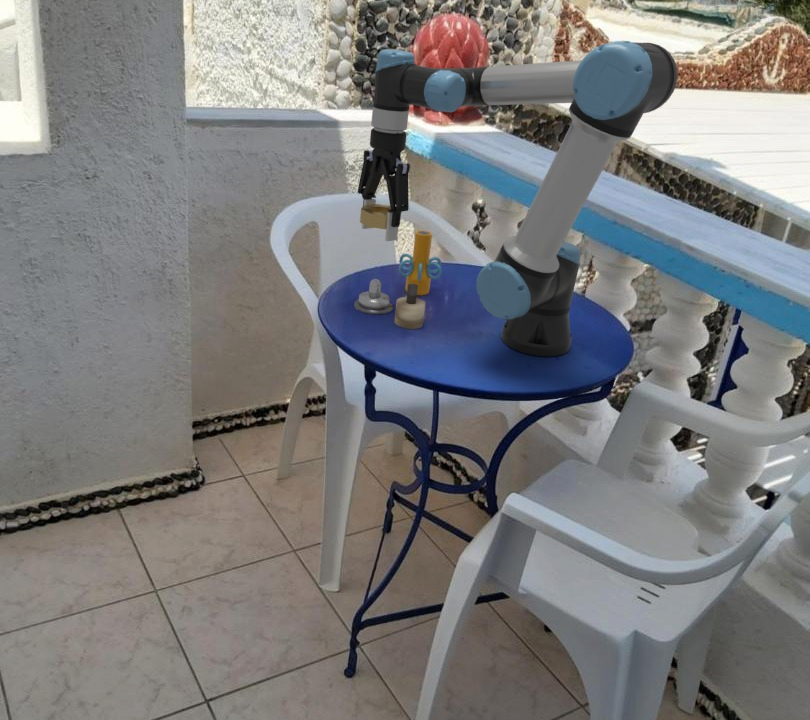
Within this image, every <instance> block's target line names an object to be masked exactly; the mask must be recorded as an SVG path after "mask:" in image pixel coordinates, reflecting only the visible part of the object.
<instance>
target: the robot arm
mask: <svg viewBox="0 0 810 720" xmlns="http://www.w3.org/2000/svg"><path fill="white" fill-rule="evenodd" d="M415 58H416V57H415V54H414V53H413V52H410V51H407V50H406V51H405V50H399V49H389V48H387V49H381V50H380V51H379V52H378V54H377V59H376V68H375V72H374V73H375V77H374V79H375V80H374V95H373V96H374V97H373V104H372V112H371V113H372V114H371V126H372V127H373V128H371V130H370V137H369V138H370V139H369V146H370V147H371V148H372V149H366V150H365V149H364V150H363V163H362V168H361V172H360V176H359V182H358V187H357V193H358V194H359V195H361V197H362V200H363V201H362V207H363V206H364V205H371V204H377V199H376V198H377V196H376V193H377V190H378V187H379V185H380V183H381V180H382V178H383V179H384V181H385V182H386V188H387V194H388V200H389V206H390V208H391V210H388V216H387V226H386V229H385V236H384V237H385V239H384V241H386V242H393V241H397V240H398V236H399V228H400V225H401V219H400V218H402V217H401V216H402V213H403V212H408V211H409V209H410V208H409V207H410V206H409V203H410V202H409V200H410V198H409V174H410V169H411V165H410V163H409V162H407V163H405V162H403V161H402V155H401V153H402V152H403V151H404V150H405V149H406V144H407V136H408V135H407V132H406V130H407V129H408V124H409V123H408V121H409V114H410V113H409V112H410V106H411V105H413V106H417V107H421V108H426V109H430V110H433V111H434V112H439V113H440V112H444V113H453V112H456V111H457V110H458V108H461V107H480V106H481V107H482V106H484V107H485V106H505V105H506V106H508V105H509V106H510V105H541V104H542V105H544V104H545V105H546V104H548V105H549V104H570V106H569V108H568V112H569V115H570V117H571V124H570V126H569V128H568V130H567V132H566V133H565V135H564V138H563V140H562V142H561V144H560V146H559V148H558V150H557V152H556V154H555V156H554V158H553V160H552V162H551V164H550V165H549V169H548V170H547V172H546V174H545V176H544V178H543V180H542V182H541V185H539V189H538V191H537V192H536V194H535V196H534V198H533V200H532V202H531V205H530V206H529V208H528V210H527V212H526V214H525V216H524V218H523V221H522V222H521V225H520V227H519V229H518V230H517V232H516V234H515V235H514V236H509V237H507V238H506V239H504V241H503V244H502V245H501V247H500V249H499V252H498V254H497V256H496V257H495V259H494V261H491V262H488V263H486V265H485V266H484V267H482V268H481V269H480V271H479V273H478V274H477V279H476V292H477V294H478V296H479V300H480V302H481V304H482V306H483V307H484V309H486V310H487V312H488V313H489V314H491V315H493V316H494V317H496V318H499V319H502V320H506V321H505V322H504V324H503V326H502V330H501V334H500V335H501V336H500V337H501V340H502V342H503V343H504V344H505V345H506V346H507V347H509V348H510V349H513V350H515V351H518V352H520V353H522V354H526V355H531V356H536V357H537V356H538V357H557V356H562V355H565V354H566V353H568V352H569V351H570V349H571V345H572V334H571V326H570V325H571V324H570V317H569V316H570V315H569V314H570V309H571V305H572V300H573V296H574V291H575V288H576V287H575V286H576V281H577V276H578V272H579V267H580V265H581V249H580V248H579V247H578V246H576V245H575V244H573V243H571V242H568V241H565V240H566V238H567V236H568V235H569V233H570V231H571V229H572V227H573V225H574V223H575V221H576V219H577V218H578V216H579V214H580V213H581V211H582V208H583V207H584V205H585V204H586V202H587V199H588V198H589V195H590V194H591V192H592V191H593V188H595V185H596V184H597V183H596V182H597V181H598V179H599V177H600V176H601V173H602V172H603V171H604V168H605V166H606V164H607V162H608V161H609V159H610V157H611V155H612V153H613V151H614V150H615V147H616V145H617V144H618V143H621V142H623V141H626V140H629V139H630V138H631V137H632V135H633V133H634V131H636V128H637V126H638V125H639V122H640V120H641V118H642V117H643V115H644V114H647V113H650V112H654V111H656V110H657V109H659V108H661V107H662V106H663V105H665V103H667V102H668V101H669V100H670V98H671V96H672V95H673V93H674V91H675V90H676V89H675V88H677V87H676V86H677V81H678V71H679V70H678V65H677V63H676V61H675V59H674V56H672V54H671V52H670V51H668V50H667V49H666V48H665V47H662V46H661V45H660V44H656V43H653V42H652V43H651V42H637V41H636V42H632V41H630V40H615V41H611V42H608V43H604V44H602V45H598V46H597V47H594V49H591V51H589V52H588V53H587V54H586V55H585V56H584V57H583V59H581V60H565V61H556V62H555V61H552V62H539V63H538V62H537V63H535V62H534V63H526V64H525V63H524V64H521V63H520V64H508V65H495V66H476V67H459V68H458V67H457V68H455V67H454V68H453V67H452V68H448V67H447V68H446V67H445V68H441V67H439V68H436V67H429V66H422V65H418V64H416V62H415V61H416V60H415ZM361 229H363V230H367V229H368V230H369V229H373V228H372V227H368V226H366V225H364V224H362V223H361Z"/></svg>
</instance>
